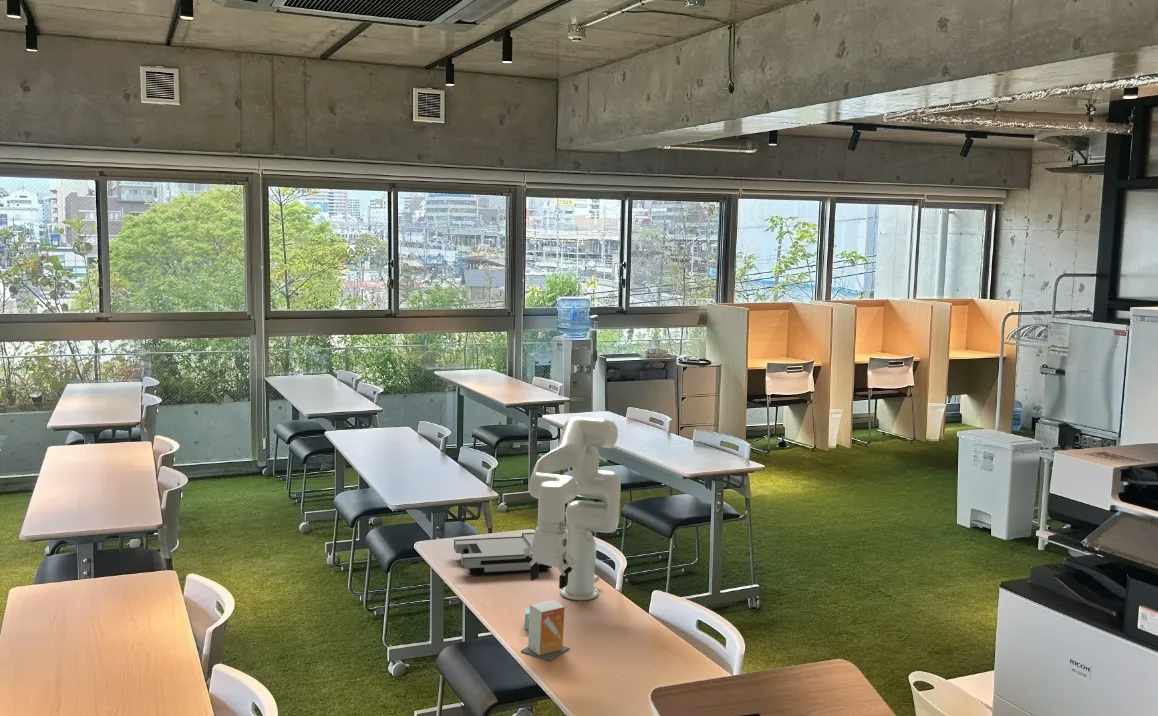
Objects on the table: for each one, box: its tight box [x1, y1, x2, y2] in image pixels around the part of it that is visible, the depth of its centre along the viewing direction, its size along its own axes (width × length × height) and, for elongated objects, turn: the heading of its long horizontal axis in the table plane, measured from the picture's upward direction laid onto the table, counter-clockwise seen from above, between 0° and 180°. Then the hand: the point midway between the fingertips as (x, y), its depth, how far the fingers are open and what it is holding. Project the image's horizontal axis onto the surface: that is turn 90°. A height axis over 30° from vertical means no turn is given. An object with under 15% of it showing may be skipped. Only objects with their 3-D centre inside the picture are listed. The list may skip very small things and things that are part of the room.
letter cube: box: [524, 606, 530, 631], centre depth 290 cm, size 5×5×5 cm
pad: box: [520, 645, 570, 662], centre depth 274 cm, size 10×10×1 cm
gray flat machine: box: [453, 532, 553, 577], centre depth 342 cm, size 21×32×8 cm, turn 107°
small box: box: [527, 599, 565, 655], centre depth 274 cm, size 8×6×13 cm
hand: (548, 583), depth 272 cm, fingers open, 9 cm apart
